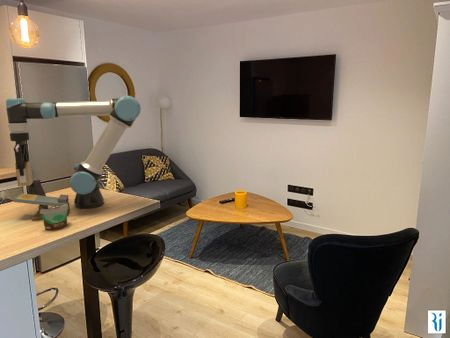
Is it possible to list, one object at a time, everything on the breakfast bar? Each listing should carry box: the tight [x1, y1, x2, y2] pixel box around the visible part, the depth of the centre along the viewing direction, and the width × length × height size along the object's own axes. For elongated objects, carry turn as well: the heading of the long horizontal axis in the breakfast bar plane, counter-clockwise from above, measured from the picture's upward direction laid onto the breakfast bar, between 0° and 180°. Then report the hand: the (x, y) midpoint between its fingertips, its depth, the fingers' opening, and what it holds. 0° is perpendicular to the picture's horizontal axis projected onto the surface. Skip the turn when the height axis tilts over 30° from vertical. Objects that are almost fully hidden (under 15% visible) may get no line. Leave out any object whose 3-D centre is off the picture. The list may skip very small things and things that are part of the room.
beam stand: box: [31, 202, 71, 222], centre depth 166 cm, size 15×13×6 cm
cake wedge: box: [40, 202, 69, 231], centre depth 149 cm, size 12×6×10 cm, turn 148°
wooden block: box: [14, 160, 33, 187], centre depth 159 cm, size 5×5×11 cm
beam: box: [13, 193, 70, 207], centre depth 164 cm, size 22×10×4 cm, turn 107°
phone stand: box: [27, 179, 47, 196], centre depth 188 cm, size 9×6×12 cm, turn 88°
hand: (25, 180), depth 160 cm, fingers closed on wooden block, 5 cm apart
